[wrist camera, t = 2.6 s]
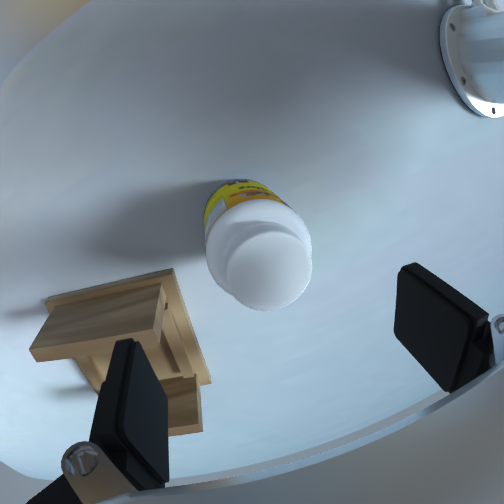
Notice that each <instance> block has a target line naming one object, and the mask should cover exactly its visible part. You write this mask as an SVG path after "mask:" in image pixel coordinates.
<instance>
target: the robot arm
mask: <svg viewBox="0 0 504 504" xmlns="http://www.w3.org/2000/svg"><path fill="white" fill-rule="evenodd" d="M472 3H473V4H471V5H465V4H463V5H457V6H455V7H452V8H450V9H449V10H448V11H446V13H445V14H444V16H443V18H442V21H441V25H440V46H441V51H442V56H443V60H444V63H445V66H446V70H447V72H448V74H449V77H450V79H451V82H452V83H453V85H454V87H455V89H456V91H457V93H458V94H459V95H460V97H461V98H462V100H463V101H464V102H465V103H466V104H467V106H468V107H469V108H470V109H471V110H473V111H474V112H475V113H477V114H478V115H481V116H483V117H488V118H500V117H502V116H504V12H502V9H501V8H500V7H499V6H498V5H497V2H496V0H472ZM488 316H489V314H488V313H487V312H486V311H484V310H483V309H482V308H480V307H479V306H478V305H476V304H475V303H474V302H472V301H471V300H470V299H468V298H467V297H465V296H464V295H463V294H461V293H460V292H459V291H457V290H456V289H454V288H453V287H452V286H450V285H449V284H447V283H446V282H444V281H443V280H442V279H440V278H439V277H437V276H436V275H434V274H433V273H431V272H430V271H428V270H427V269H425V268H424V267H423V266H421V265H420V264H418V263H416V262H415V263H411V264H408V265H405V266H403V267H401V270H400V272H399V273H398V277H397V296H396V310H395V321H394V334H395V336H396V338H397V339H398V340H399V341H400V342H401V343H402V344H403V345H404V347H405V348H406V349H407V350H408V351H409V352H410V353H411V354H412V355H413V357H414V358H415V359H416V360H417V361H418V362H419V363H420V364H421V365H422V367H423V368H424V369H425V370H426V371H427V372H428V373H429V374H430V376H431V377H432V378H433V379H434V380H435V381H436V382H437V384H438V385H439V386H440V387H441V388H442V389H443V390H444V391H445V392H449V393H450V395H448V396H446V397H444V398H443V399H441V400H439V401H437V402H436V403H434V404H432V405H430V406H428V407H427V408H425V409H423V410H421V411H419V412H417V413H415V414H413V415H411V416H409V417H407V418H405V419H403V420H401V421H399V422H397V423H395V424H393V425H390V426H388V427H386V428H384V429H382V430H380V431H377V432H375V433H373V434H370V435H368V436H366V437H363V438H361V439H358V440H356V441H353V442H351V443H348V444H345V445H343V446H340V447H338V448H335V449H332V450H329V451H326V452H323V453H320V454H318V455H314V456H312V457H308V458H305V459H302V460H299V461H295V462H292V463H288V464H285V465H281V466H278V467H274V468H270V469H266V470H263V471H258V472H254V473H249V474H245V475H240V476H235V477H230V478H225V479H219V480H215V481H208V482H202V483H196V484H190V485H182V486H173V487H167V488H165V483H166V482H169V451H168V399H167V396H166V393H165V391H164V389H163V388H162V386H161V384H160V382H159V380H158V378H157V376H156V374H155V372H154V370H153V368H152V366H151V364H150V362H149V360H148V358H147V356H146V354H145V352H144V350H143V348H142V345H141V344H140V342H139V341H134V339H133V338H127V339H122V340H117V341H116V342H115V345H114V349H113V352H112V356H111V360H110V364H109V368H108V371H107V375H106V379H105V381H104V382H102V385H101V388H100V392H99V396H98V401H97V405H96V409H95V414H94V418H93V423H92V428H91V433H90V438H89V442H87V441H83V442H78V443H76V444H74V445H72V446H71V447H70V448H68V449H67V450H66V452H65V453H64V455H63V457H62V460H61V468H62V471H63V474H62V475H61V476H60V477H59V478H57V479H56V480H55V481H54V482H52V483H51V484H50V485H49V486H47V487H46V488H45V489H43V490H42V491H41V492H40V493H38V494H37V495H36V496H34V497H33V498H32V499H30V500H29V501H28V502H27V503H26V504H504V314H500V315H497V316H495V317H494V318H493V319H492V321H491V323H490V322H489V321H488Z"/></svg>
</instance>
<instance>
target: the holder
mask: <svg viewBox="0 0 504 504" xmlns="http://www.w3.org/2000/svg"><path fill="white" fill-rule="evenodd" d="M45 305H46V307H47V309H48V311H49V313H50V315H49V317H48V319H47V320H46V322H45V323H44V325H43V326H42V328H41V330H40V331H39V333H38V335H37V336H36V338H35V340H34V341H33V343H32V345H31V346H30V348H29V351H30V352H31V354H32V356H33V357H34V359H35V360H36V362H45V361H53V360H61V359H69V358H74V359H75V360H76V362H77V364H78V365H79V367H80V368H81V370H82V372H83V373H84V375H85V376H86V378H87V379H88V381H89V382H90V384H91V385H92V387H93V388H94V390H95V391H96V393H97V394H98V396H99V392H100V388H101V385H102V382H104V381H105V379H106V375H107V371H108V368H109V364H110V360H111V356H112V352H113V349H114V345H115V342H116V341H117V340H122V339H127V338H133V339H134V341H139V342H140V344H141V345H142V348H143V350H144V352H145V354H146V356H147V358H148V360H149V362H150V364H151V366H152V368H153V370H154V372H155V374H156V376H157V378H158V380H159V382H160V384H161V386H162V388H163V389H164V391H165V393H166V396H167V399H168V436H176V435H184V434H191V433H198V432H203V424H202V411H201V395H200V386H201V385H206V384H211V376H210V374H209V371H208V368H207V366H206V363H205V360H204V358H203V355H202V352H201V350H200V347H199V344H198V341H197V339H196V336H195V333H194V330H193V327H192V324H191V322H190V319H189V316H188V313H187V310H186V307H185V304H184V301H183V298H182V295H181V292H180V289H179V286H178V283H177V279H176V276H175V273H174V270H173V268H172V269H168V270H164V271H159V272H155V273H151V274H146V275H142V276H138V277H134V278H129V279H125V280H121V281H116V282H112V283H108V284H104V285H99V286H95V287H91V288H86V289H82V290H78V291H74V292H69V293H65V294H61V295H57V296H52V297H49V298H48V299H47V300H46V302H45Z"/></svg>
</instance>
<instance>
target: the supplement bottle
mask: <svg viewBox="0 0 504 504" xmlns="http://www.w3.org/2000/svg"><path fill="white" fill-rule="evenodd" d="M204 233H205V250H206V260H207V265H208V268H209V271H210V273H211V275H212V277H213V279H214V280H215V282H216V283H217V284H218V285H219V286H220V287H221V288H222V289H223V290H224V291H226V292H227V293H229V294H230V295H232V296H234V297H235V299H236V300H237V301H239V302H240V303H241V304H243V305H245V306H246V307H249V308H251V309H255V310H260V311H268V310H275V309H279V308H282V307H284V306H287V305H289V304H290V303H292V302H293V301H295V300H296V299H297V298H298V297H299V296H300V295H301V294H302V293H303V291H304V290H305V289H306V287H307V285H308V283H309V281H310V278H311V273H312V261H311V252H312V245H311V238H310V234H309V231H308V229H307V226H306V225H305V223H304V221H303V220H302V219H301V217H300V216H299V215H298V214H297V213H296V212H295V211H294V210H293V209H292V208H290V207H289V206H288V205H287V204H286V203H285V202H284V201H282V200H281V199H280V198H279V197H278V196H276V195H275V194H274V193H273V192H272V191H271V190H269V189H268V188H267V187H266V186H264V185H262V184H261V183H258V182H256V181H253V180H247V179H239V180H233V181H230V182H227V183H225V184H223V185H222V186H220V187H219V188H218V189H217V190H215V191H214V193H213V194H212V195H211V196H210V198H209V200H208V202H207V204H206V207H205V211H204Z"/></svg>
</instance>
